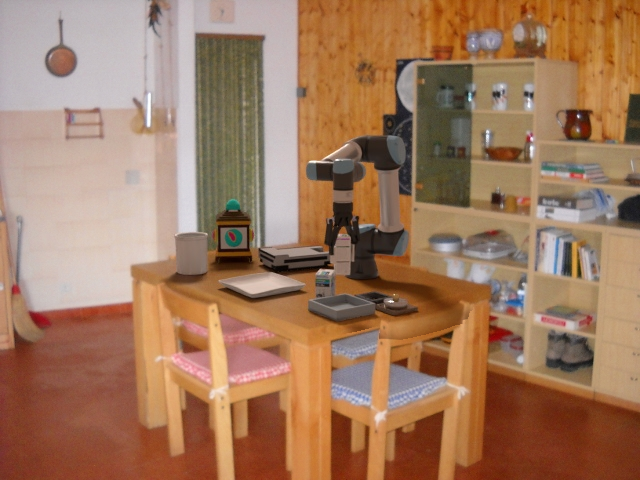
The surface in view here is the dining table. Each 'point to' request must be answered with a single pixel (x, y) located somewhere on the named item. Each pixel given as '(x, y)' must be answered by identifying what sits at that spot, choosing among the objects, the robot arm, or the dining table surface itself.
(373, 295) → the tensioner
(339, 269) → the syrup box
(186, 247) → the utensil holder
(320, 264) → the game console
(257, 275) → the square plate
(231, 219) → the decorative lantern
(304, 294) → the dining table surface
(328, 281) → the light bulb box
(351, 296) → the tray
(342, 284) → the dining table surface
